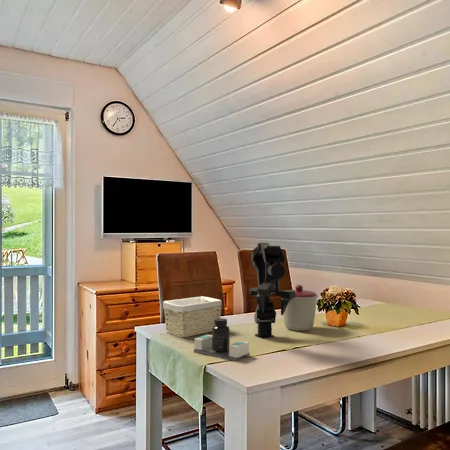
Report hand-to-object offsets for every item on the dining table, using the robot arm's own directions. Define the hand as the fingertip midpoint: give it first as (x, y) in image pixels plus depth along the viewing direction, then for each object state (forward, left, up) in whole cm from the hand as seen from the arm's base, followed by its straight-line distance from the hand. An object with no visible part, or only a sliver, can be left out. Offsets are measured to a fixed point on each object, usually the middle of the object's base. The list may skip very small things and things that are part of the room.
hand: (272, 313), depth 178 cm
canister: (-18, +29, -13) cm, 37 cm away
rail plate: (0, -24, -13) cm, 27 cm away
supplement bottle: (0, -24, -12) cm, 27 cm away
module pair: (0, -24, -12) cm, 27 cm away
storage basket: (-38, -18, -13) cm, 44 cm away
